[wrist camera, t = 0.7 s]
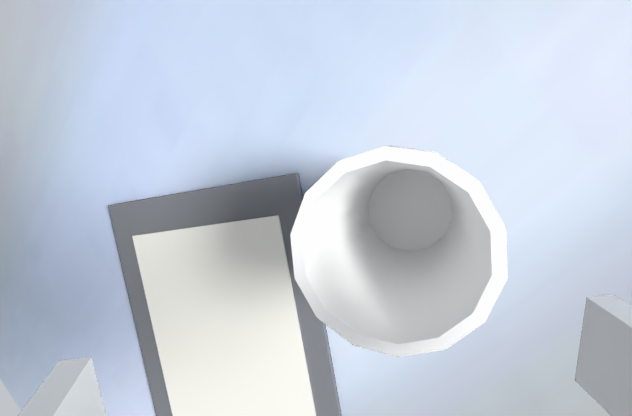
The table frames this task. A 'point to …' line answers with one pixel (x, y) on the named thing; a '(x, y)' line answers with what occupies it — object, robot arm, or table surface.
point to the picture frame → (224, 302)
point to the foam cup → (399, 251)
